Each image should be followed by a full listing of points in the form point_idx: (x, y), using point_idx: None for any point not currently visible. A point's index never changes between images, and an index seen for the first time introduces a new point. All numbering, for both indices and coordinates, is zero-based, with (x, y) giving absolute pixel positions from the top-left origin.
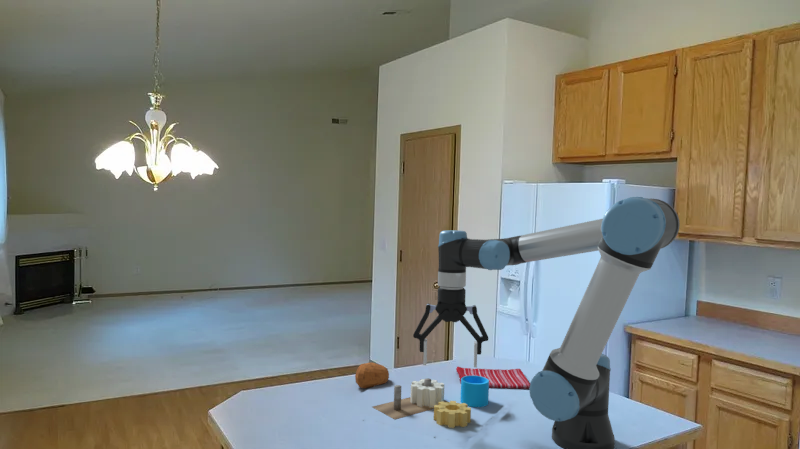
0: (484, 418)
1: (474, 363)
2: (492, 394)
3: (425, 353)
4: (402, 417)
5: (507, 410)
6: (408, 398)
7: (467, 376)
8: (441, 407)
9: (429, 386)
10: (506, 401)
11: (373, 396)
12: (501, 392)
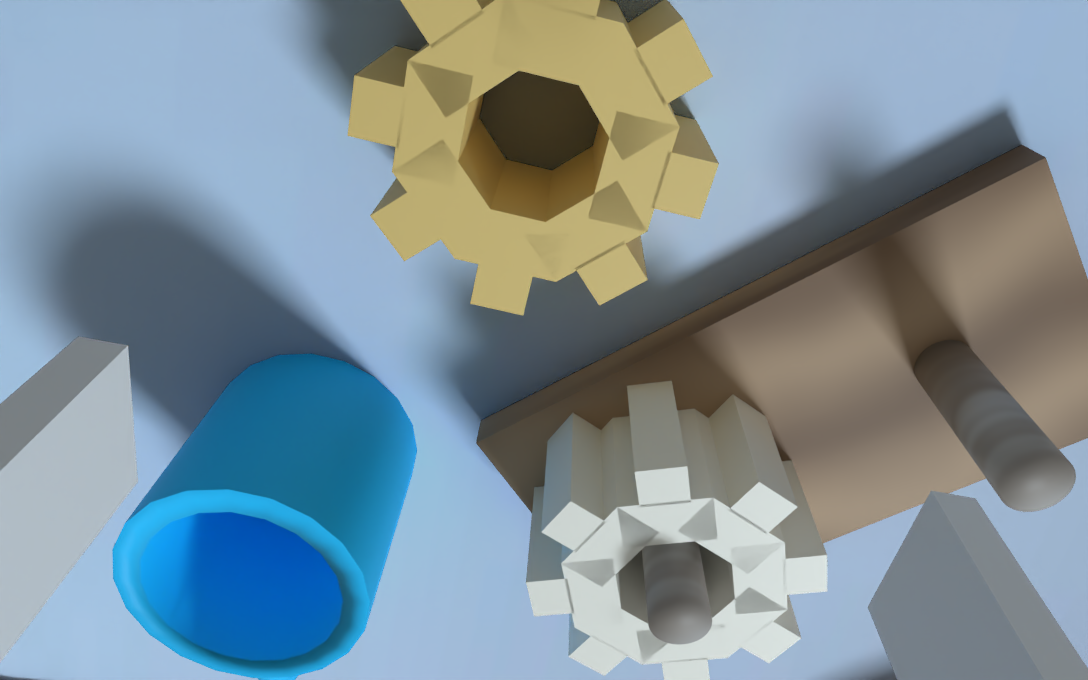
0: (258, 242)
1: (82, 381)
2: None
3: (1044, 656)
4: (959, 199)
5: None
6: None
7: (304, 660)
8: (645, 149)
9: (664, 559)
10: None
11: None
12: (113, 642)
